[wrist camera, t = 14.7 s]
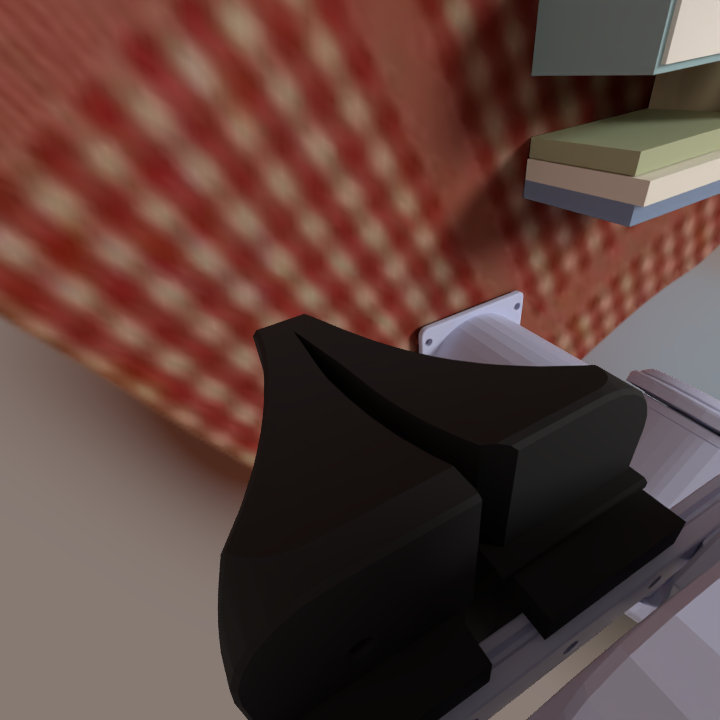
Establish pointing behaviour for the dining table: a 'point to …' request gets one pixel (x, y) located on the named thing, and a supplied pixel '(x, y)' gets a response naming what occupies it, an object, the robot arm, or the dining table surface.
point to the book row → (627, 165)
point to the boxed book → (624, 36)
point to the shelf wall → (688, 89)
